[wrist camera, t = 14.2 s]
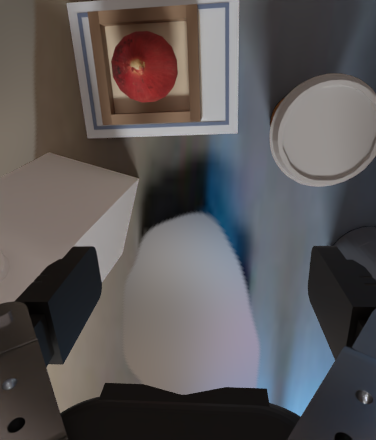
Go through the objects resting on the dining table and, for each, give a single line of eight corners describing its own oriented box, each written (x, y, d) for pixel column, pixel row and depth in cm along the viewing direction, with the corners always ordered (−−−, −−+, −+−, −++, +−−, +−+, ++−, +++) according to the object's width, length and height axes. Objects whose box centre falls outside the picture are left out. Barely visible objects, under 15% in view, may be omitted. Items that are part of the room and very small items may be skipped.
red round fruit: (127, 101, 34) (102, 106, 27) (120, 38, 32) (91, 25, 25) (182, 99, 34) (173, 103, 26) (180, 35, 31) (168, 20, 24)
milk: (40, 230, 47) (-146, 383, 23) (48, 152, 42) (-172, 240, 18) (122, 253, 47) (23, 428, 23) (138, 178, 43) (38, 298, 19)
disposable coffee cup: (296, 177, 41) (325, 211, 30) (239, 126, 39) (248, 142, 28) (358, 115, 38) (417, 128, 27) (299, 56, 36) (336, 44, 25)
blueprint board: (238, -7, 34) (239, -11, 33) (237, 131, 39) (237, 133, 38) (71, 5, 36) (66, 2, 35) (91, 137, 41) (87, 138, 40)
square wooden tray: (200, 16, 34) (196, 3, 29) (202, 116, 38) (200, 121, 33) (106, 22, 35) (87, 11, 30) (117, 120, 39) (102, 125, 34)
